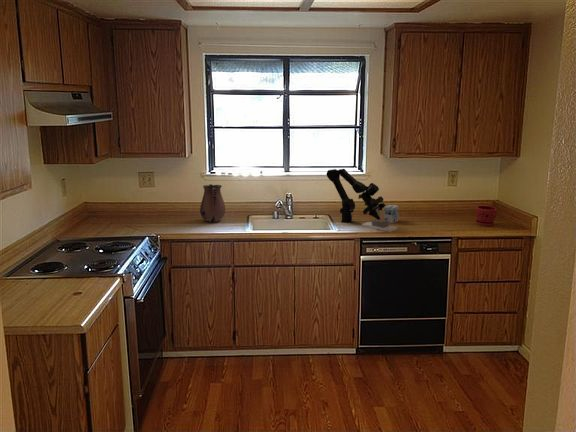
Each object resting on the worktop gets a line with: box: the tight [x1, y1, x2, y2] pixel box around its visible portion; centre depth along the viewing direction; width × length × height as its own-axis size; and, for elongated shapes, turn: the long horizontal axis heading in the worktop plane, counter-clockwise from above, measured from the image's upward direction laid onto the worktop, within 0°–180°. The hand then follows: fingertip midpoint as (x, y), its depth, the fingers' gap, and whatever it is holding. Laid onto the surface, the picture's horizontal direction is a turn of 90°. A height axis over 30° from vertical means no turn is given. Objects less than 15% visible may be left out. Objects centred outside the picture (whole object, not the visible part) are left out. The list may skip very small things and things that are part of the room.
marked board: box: [361, 221, 398, 233], centre depth 326 cm, size 22×8×2 cm, turn 46°
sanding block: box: [371, 209, 390, 228], centre depth 325 cm, size 9×6×10 cm, turn 46°
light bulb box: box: [383, 204, 400, 224], centre depth 343 cm, size 11×7×11 cm, turn 143°
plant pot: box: [475, 205, 498, 227], centre depth 333 cm, size 13×13×12 cm
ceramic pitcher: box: [199, 183, 226, 223], centre depth 344 cm, size 18×21×25 cm
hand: (381, 219), depth 324 cm, fingers closed on sanding block, 4 cm apart
